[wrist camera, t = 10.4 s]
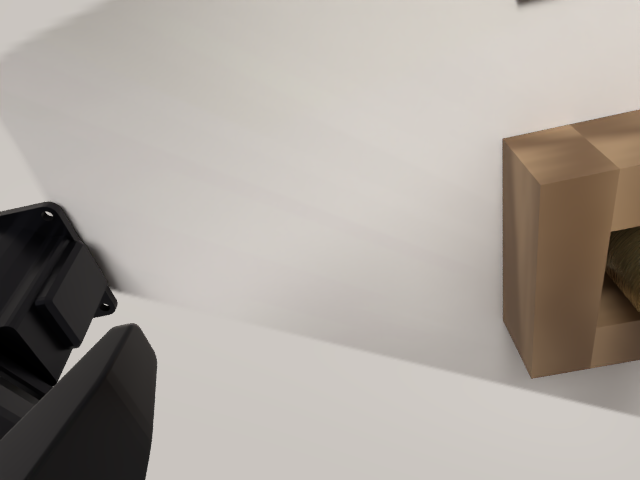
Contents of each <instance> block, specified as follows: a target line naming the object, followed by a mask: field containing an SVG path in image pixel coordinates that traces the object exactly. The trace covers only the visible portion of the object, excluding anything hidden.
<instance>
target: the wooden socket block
mask: <svg viewBox="0 0 640 480" xmlns="http://www.w3.org/2000/svg"><path fill="white" fill-rule="evenodd" d="M637 226H640V110H636V111H631V112H626V113H622V114H617V115H612V116H608V117H603V118H598V119H594V120H589V121H584V122H580V123H575V124H570V125H565V126H561V127H556V128H551V129H547V130H542V131H537V132H533V133H528V134H523V135H519V136H514V137H509V138H504V139H503V321H504V323H505V325H506V327H507V330H508V332H509V334H510V336H511V338H512V340H513V342H514V344H515V346H516V348H517V350H518V352H519V354H520V356H521V358H522V360H523V362H524V365H525V367H526V369H527V371H528V373H529V375H530V377H531V379H533V378H538V377H544V376H550V375H555V374H561V373H567V372H572V371H578V370H584V369H590V368H595V367H601V366H607V365H612V364H618V363H624V362H630V361H635V360H640V313H639V312H638V311H637V309H636V308H635V307H634V306H633V305H632V303H631V302H630V301H629V300H628V298H627V297H626V296H625V295H624V293H623V292H622V291H621V290H620V288H619V287H618V286H617V285H616V284H615V282H614V281H613V280H612V279H611V277H610V276H609V275H608V274H607V272H606V271H605V266H606V260H607V253H608V246H609V240H610V233H611V232H612V231H617V230H622V229H627V228H632V227H637Z"/></svg>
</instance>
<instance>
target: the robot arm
mask: <svg viewBox="0 0 640 480" xmlns="http://www.w3.org/2000/svg"><path fill="white" fill-rule="evenodd" d="M45 211H47V212H50V213H52V214H53V216H49V215H47V214H46V213H45ZM639 263H640V261H639ZM104 304H107V305H109V306H106V305H104ZM116 307H117V300H116V298H115V297H114V295H113V293H112V292H111V290H110V288H109V287H108V282H107V280H106V278H105V277H104V275H103V273H102V272H101V270H100V268H99V267H98V265H97V263H96V262H95V260H94V258H93V257H92V255H91V253H90V252H89V250H88V248H87V247H86V245H85V244H84V243H83V242H81V240H80V239H79V237H78V235H77V234H76V232H75V230H74V229H73V227H72V225H71V224H70V222H69V220H68V219H67V217H66V215H65V214H64V212H63V210H62V209H61V208H60V207H59V206H58V205H57V204H55V203H52V202H43V203H38V204H34V205H29V206H24V207H20V208H15V209H11V210H6V211H2V212H0V480H145V477H146V472H147V466H148V461H149V455H150V449H151V442H152V432H153V419H154V403H155V387H156V373H157V359H156V355H155V352H154V350H153V349H152V347H151V345H150V344H149V342H148V340H147V338H146V337H145V336H144V334H143V332H142V330H141V329H140V327H139V326H138V325H137V324H134V323H130V324H125V325H120V326H116V327H113V328H112V329H110V330H109V331H108V332H107V333H106V335H104V337H102V339H100V341H99V342H97V344H95V345H94V347H93V348H91V350H89V351H88V352H87V354H86V355H84V357H83V358H82V359H81V360H80V361H79V362H78V363H77V364H76V365H75V366H74V367H73V368H72V369H71V370H70V371H69V372H68V373H67V374H66V375H65V376H64V377H63V378H62V379H61V380H60V381H59V382H58V379H59V377H60V375H61V373H62V371H63V368H64V366H65V364H66V362H67V360H68V358H69V355H70V353H71V351H72V349H73V348H78V347H79V346H80V345H81V343H82V341H83V339H84V337H85V335H86V332H87V330H88V328H89V325H90V323H91V321H92V319H93V318H95V317H100V316H105V315H110V314H112V313H113V312H115V309H116ZM57 382H58V383H57ZM52 386H54V387H52Z"/></svg>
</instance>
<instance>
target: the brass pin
mask: <svg viewBox="0 0 640 480" xmlns="http://www.w3.org/2000/svg"><path fill="white" fill-rule="evenodd" d="M639 261H640V226H637V227H632V228H627V229H622V230H617V231H612V232H611V233H610V240H609V246H608V253H607V260H606V266H605V271H606V272H607V274H608V275H609V276H610V277H611V279H612V280H613V281H614V282H615V284H616V285H617V286H618V287H619V288H620V290H621V291H622V292H623V293H624V295H625V296H626V297H627V298H628V300H629V301H630V302H631V303H632V305H633V306H634V307H635V308H636V309H637V311H638V312H639V313H640V263H639Z"/></svg>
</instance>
